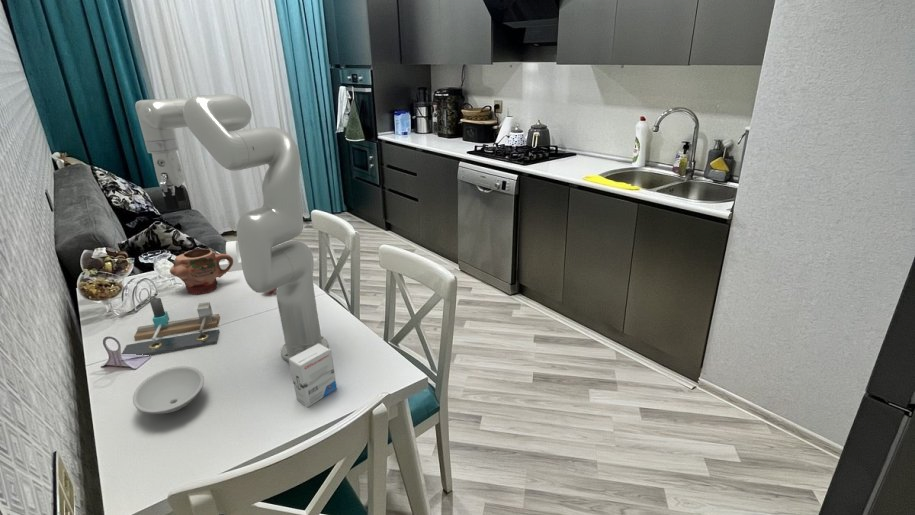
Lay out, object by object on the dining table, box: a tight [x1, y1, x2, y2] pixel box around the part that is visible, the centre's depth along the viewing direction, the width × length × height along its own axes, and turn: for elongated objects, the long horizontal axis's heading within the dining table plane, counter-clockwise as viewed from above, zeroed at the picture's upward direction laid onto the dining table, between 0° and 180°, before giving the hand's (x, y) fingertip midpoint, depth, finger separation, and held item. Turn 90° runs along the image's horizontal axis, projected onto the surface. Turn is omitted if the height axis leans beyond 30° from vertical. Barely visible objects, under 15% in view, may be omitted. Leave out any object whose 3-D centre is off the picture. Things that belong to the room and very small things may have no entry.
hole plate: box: [121, 328, 221, 357], centre depth 134 cm, size 7×24×1 cm, turn 109°
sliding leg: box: [149, 297, 170, 344], centre depth 136 cm, size 12×3×9 cm, turn 19°
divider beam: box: [133, 301, 221, 342], centre depth 138 cm, size 13×22×6 cm, turn 109°
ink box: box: [288, 343, 338, 408], centre depth 110 cm, size 9×5×12 cm, turn 141°
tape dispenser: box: [219, 240, 243, 273], centre depth 186 cm, size 10×18×11 cm, turn 107°
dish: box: [132, 365, 205, 415], centre depth 109 cm, size 18×14×5 cm
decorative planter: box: [169, 248, 233, 295], centre depth 167 cm, size 20×12×14 cm, turn 120°
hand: (177, 204), depth 138 cm, fingers open, 9 cm apart
